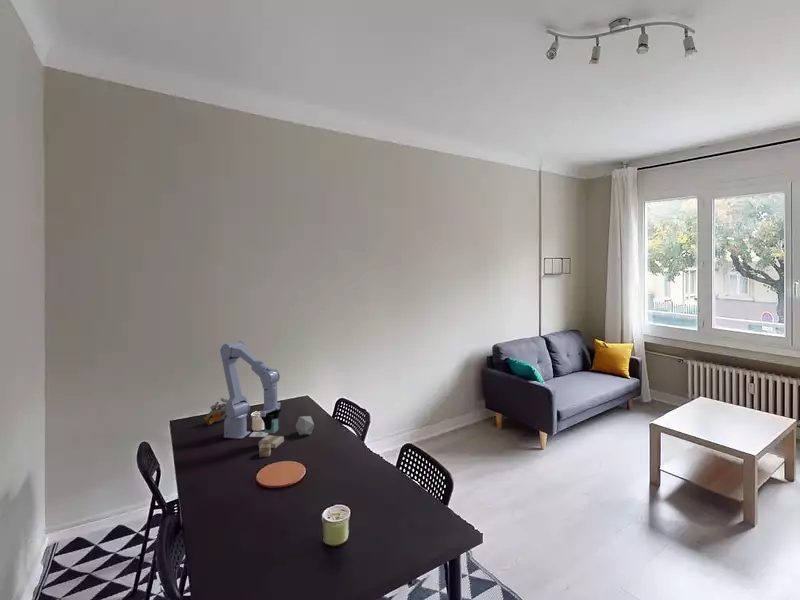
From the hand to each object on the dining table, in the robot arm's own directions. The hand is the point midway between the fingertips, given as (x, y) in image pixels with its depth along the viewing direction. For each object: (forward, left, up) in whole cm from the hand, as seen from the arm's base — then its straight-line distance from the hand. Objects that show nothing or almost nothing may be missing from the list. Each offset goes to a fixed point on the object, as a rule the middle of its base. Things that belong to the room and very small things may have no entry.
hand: (271, 427), depth 189 cm
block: (+3, -11, -8) cm, 14 cm away
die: (+10, +14, -8) cm, 19 cm away
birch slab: (0, 0, -8) cm, 8 cm away
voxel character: (-37, +19, -8) cm, 42 cm away
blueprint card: (-11, +9, -8) cm, 16 cm away
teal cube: (0, 0, -2) cm, 2 cm away
